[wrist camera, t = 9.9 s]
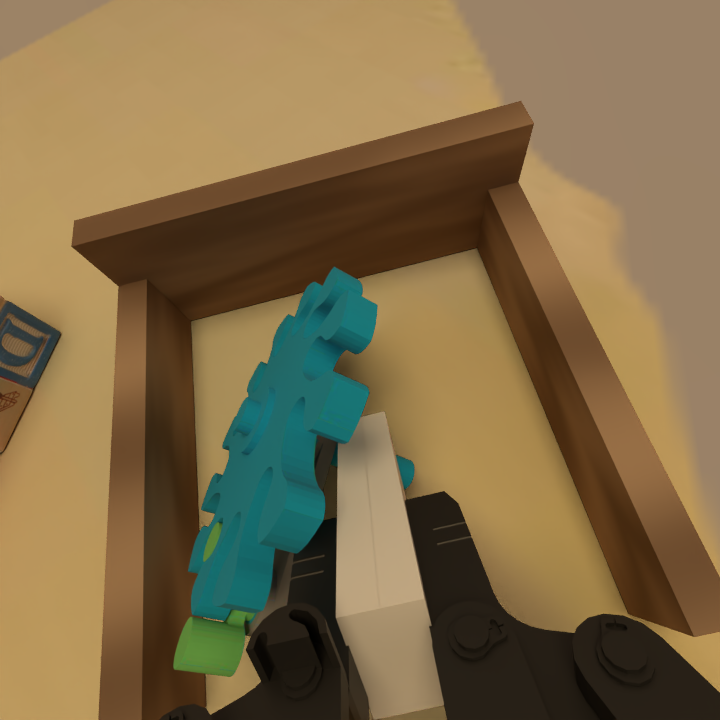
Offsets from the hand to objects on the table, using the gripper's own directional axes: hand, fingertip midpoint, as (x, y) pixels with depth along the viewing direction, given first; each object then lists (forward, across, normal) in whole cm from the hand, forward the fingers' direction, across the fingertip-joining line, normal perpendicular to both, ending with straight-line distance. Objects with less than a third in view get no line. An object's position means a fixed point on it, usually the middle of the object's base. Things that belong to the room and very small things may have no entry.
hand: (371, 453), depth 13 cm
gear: (+2, -2, -2) cm, 3 cm away
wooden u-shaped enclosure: (+3, 0, -1) cm, 3 cm away
